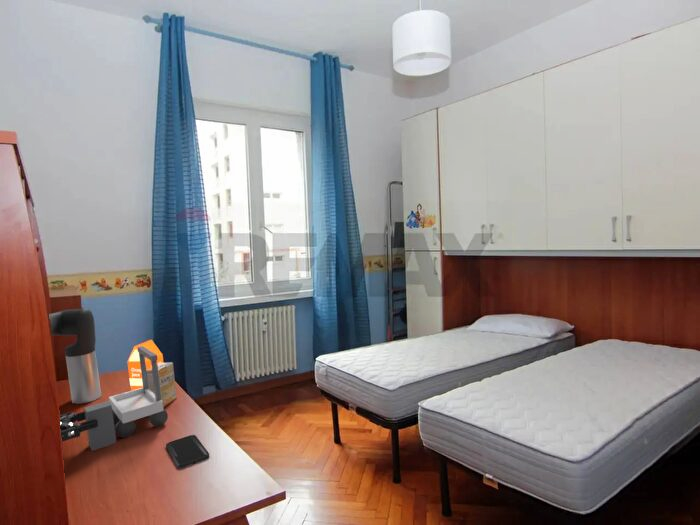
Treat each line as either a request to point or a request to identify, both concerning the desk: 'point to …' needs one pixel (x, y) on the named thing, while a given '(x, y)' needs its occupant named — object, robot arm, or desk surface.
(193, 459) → the phone
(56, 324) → the robot arm
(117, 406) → the trolley
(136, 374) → the orange juice
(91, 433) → the block
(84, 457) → the desk surface
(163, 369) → the supplement box
